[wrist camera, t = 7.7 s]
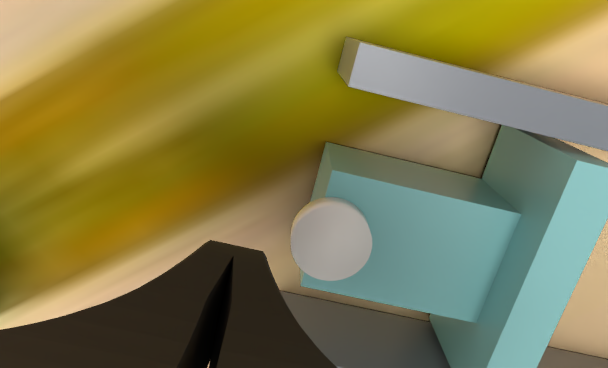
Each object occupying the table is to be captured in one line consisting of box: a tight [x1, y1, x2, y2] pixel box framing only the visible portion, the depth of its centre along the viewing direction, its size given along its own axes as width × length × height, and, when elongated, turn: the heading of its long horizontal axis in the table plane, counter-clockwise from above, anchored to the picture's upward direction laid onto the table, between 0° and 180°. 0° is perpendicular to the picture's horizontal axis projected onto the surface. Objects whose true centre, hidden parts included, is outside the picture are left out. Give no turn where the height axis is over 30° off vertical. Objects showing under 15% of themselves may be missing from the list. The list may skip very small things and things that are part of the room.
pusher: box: [291, 125, 608, 368], centre depth 17 cm, size 8×8×5 cm
